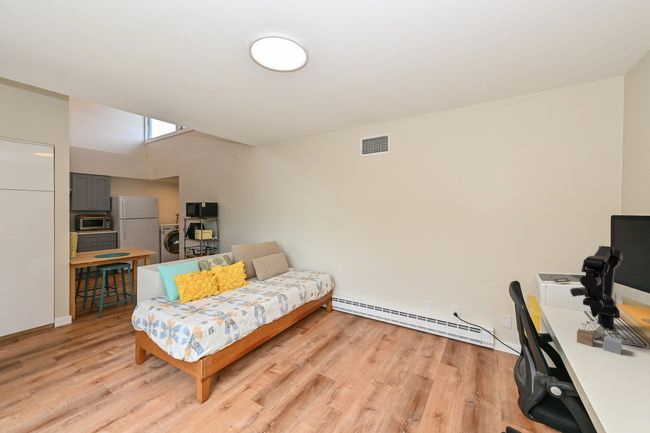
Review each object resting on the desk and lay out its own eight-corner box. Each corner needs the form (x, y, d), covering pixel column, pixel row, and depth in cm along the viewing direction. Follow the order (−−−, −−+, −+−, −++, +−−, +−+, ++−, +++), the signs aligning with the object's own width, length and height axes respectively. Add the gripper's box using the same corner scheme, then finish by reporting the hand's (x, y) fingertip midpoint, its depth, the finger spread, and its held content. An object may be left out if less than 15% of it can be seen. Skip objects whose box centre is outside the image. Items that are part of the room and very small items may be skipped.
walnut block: (578, 338, 124) (578, 328, 124) (593, 343, 120) (593, 332, 120) (576, 342, 121) (577, 331, 121) (592, 346, 117) (592, 336, 117)
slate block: (604, 346, 117) (605, 335, 117) (621, 350, 113) (621, 339, 113) (603, 350, 114) (603, 339, 114) (620, 355, 110) (621, 343, 110)
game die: (599, 347, 123) (617, 336, 117) (580, 339, 125) (597, 328, 119) (591, 330, 130) (608, 319, 124) (572, 323, 132) (588, 312, 125)
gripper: (575, 277, 136) (574, 306, 136) (568, 284, 124) (567, 316, 124) (606, 281, 127) (605, 313, 128) (602, 290, 115) (601, 324, 116)
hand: (594, 316), depth 124 cm, fingers closed
